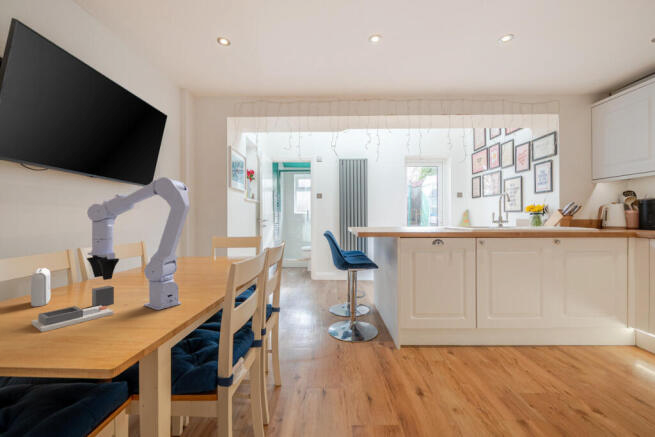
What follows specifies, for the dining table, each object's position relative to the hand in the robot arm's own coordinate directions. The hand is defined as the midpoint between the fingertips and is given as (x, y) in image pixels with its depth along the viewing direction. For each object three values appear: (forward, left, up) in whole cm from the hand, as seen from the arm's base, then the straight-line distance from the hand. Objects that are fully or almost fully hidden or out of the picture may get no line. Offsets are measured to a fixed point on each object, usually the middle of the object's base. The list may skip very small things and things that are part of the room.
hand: (102, 278), depth 96 cm
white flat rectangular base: (-9, +10, -9) cm, 16 cm away
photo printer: (+21, +11, -10) cm, 26 cm away
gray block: (0, 0, -9) cm, 9 cm away
